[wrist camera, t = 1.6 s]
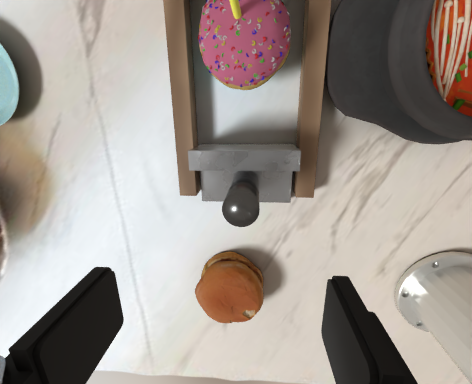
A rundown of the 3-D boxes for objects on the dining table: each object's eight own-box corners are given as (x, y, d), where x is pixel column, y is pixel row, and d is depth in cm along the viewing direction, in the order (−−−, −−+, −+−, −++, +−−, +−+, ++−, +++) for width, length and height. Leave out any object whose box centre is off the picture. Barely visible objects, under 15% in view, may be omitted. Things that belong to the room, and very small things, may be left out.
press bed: (329, -46, 23) (355, -105, 17) (309, 191, 30) (322, 210, 24) (168, -35, 25) (138, -86, 18) (185, 189, 32) (168, 207, 26)
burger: (210, 242, 34) (203, 261, 30) (272, 261, 34) (274, 283, 30) (193, 295, 37) (185, 320, 33) (251, 313, 37) (250, 340, 33)
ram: (292, 143, 28) (310, 157, 19) (289, 199, 31) (303, 237, 21) (201, 144, 29) (173, 157, 20) (204, 197, 32) (180, 234, 22)
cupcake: (194, 29, 26) (146, -39, 15) (268, -13, 24) (277, -125, 13) (227, 105, 28) (207, 98, 17) (297, 72, 26) (327, 39, 15)
